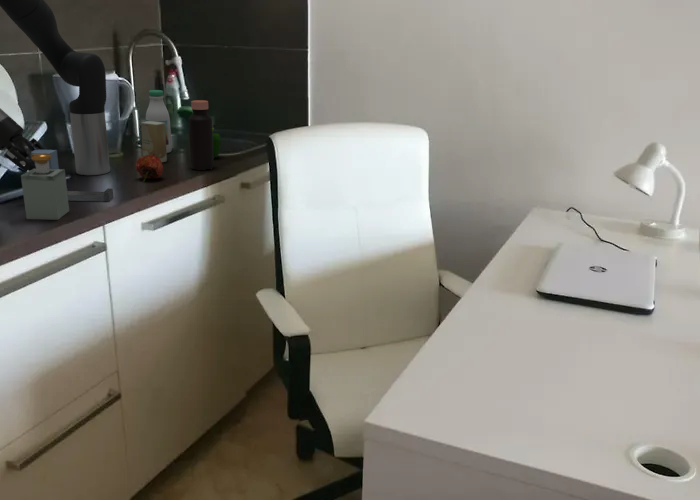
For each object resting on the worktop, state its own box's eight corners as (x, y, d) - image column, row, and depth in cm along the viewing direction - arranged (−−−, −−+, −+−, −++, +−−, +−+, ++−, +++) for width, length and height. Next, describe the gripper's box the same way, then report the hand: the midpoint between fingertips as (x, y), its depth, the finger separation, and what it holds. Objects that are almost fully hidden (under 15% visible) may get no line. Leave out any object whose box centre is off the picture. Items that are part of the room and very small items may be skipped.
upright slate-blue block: (42, 194, 172) (37, 149, 168) (62, 194, 172) (57, 149, 169) (33, 200, 167) (27, 153, 163) (54, 200, 167) (48, 154, 163)
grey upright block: (39, 210, 160) (33, 168, 157) (69, 210, 160) (64, 169, 157) (26, 219, 153) (20, 175, 150) (58, 219, 154) (53, 176, 150)
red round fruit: (160, 190, 189) (173, 163, 194) (146, 173, 183) (160, 145, 189) (138, 190, 192) (151, 163, 197) (124, 173, 186) (138, 145, 191)
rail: (31, 196, 171) (30, 186, 170) (113, 197, 172) (112, 188, 171) (25, 199, 168) (24, 190, 167) (109, 201, 169) (108, 192, 168)
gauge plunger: (39, 182, 156) (35, 152, 154) (57, 183, 156) (53, 153, 154) (32, 187, 153) (28, 156, 150) (50, 187, 153) (46, 156, 150)
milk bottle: (153, 148, 231) (149, 88, 224) (175, 150, 230) (172, 89, 223) (144, 153, 224) (139, 91, 217) (166, 154, 223) (162, 92, 216)
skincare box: (142, 161, 212) (139, 122, 208) (151, 159, 216) (148, 120, 212) (159, 164, 210) (157, 124, 206) (168, 161, 214) (165, 122, 210)
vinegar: (194, 165, 209) (191, 99, 202) (216, 166, 209) (213, 100, 202) (188, 170, 203) (185, 102, 196) (211, 171, 203) (208, 103, 196)
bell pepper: (188, 157, 220) (187, 126, 216) (209, 154, 226) (208, 124, 222) (205, 161, 214) (204, 130, 211) (225, 158, 220) (224, 127, 217)
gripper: (-8, 120, 156) (51, 172, 160) (19, 111, 169) (73, 159, 174) (-28, 142, 158) (31, 194, 162) (0, 132, 171) (54, 179, 176)
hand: (53, 176), depth 168 cm, fingers open, 5 cm apart
